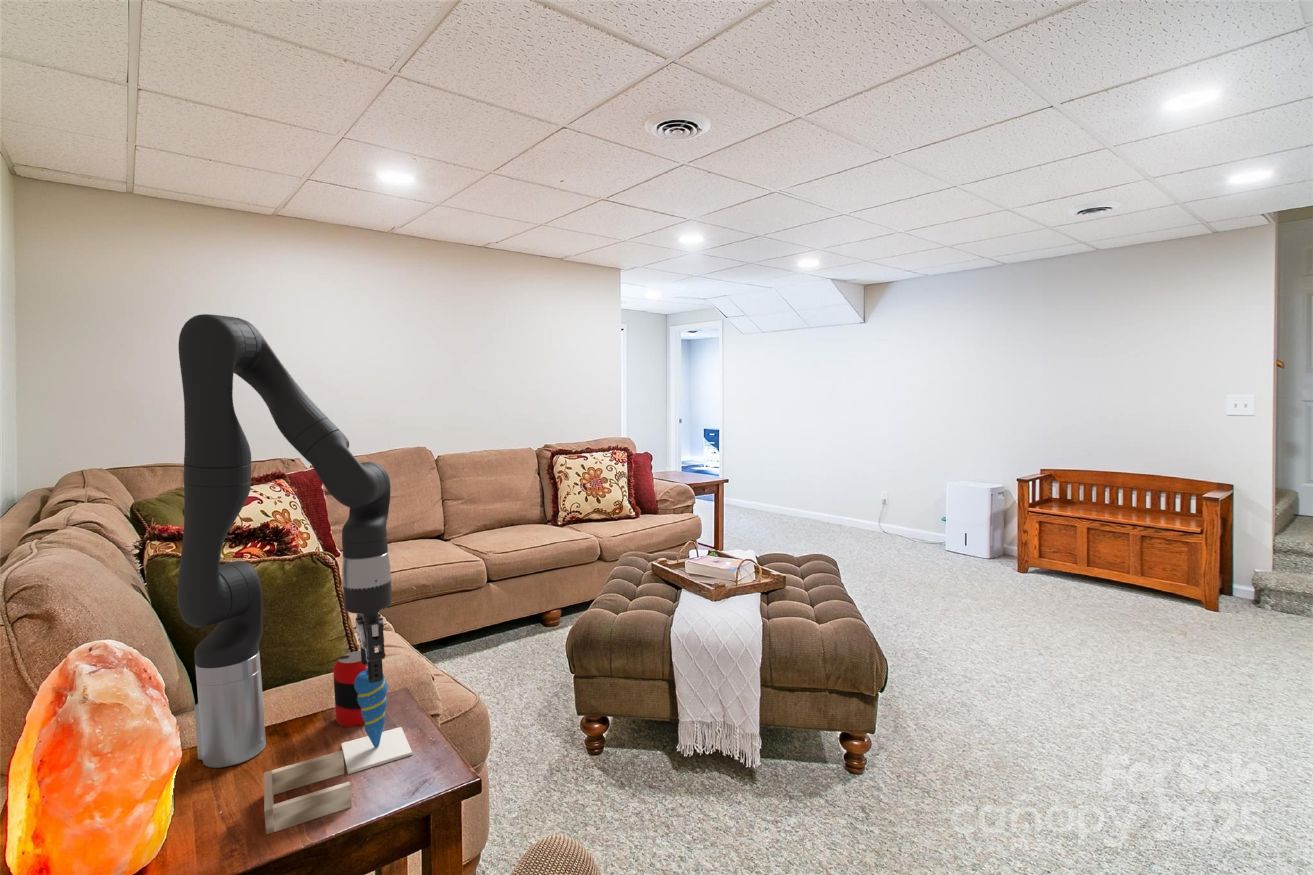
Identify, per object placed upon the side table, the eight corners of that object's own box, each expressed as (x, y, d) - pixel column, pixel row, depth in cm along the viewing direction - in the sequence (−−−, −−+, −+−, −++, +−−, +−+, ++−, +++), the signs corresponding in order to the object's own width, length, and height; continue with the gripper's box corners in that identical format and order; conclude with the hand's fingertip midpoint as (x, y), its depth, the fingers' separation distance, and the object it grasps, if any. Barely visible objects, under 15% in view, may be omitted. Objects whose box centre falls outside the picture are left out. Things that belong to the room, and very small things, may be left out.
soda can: (345, 709, 127) (341, 650, 126) (384, 706, 127) (381, 647, 126) (329, 729, 119) (325, 666, 118) (372, 726, 120) (368, 663, 119)
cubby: (266, 834, 91) (264, 811, 90) (265, 793, 100) (264, 772, 100) (351, 806, 96) (350, 784, 96) (343, 770, 106) (342, 750, 105)
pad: (348, 774, 105) (347, 771, 105) (341, 745, 113) (341, 743, 113) (412, 754, 110) (412, 752, 110) (401, 729, 118) (401, 726, 118)
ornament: (379, 756, 109) (372, 669, 108) (352, 754, 110) (345, 668, 109) (397, 739, 114) (391, 657, 113) (371, 738, 115) (365, 656, 114)
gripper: (398, 586, 105) (402, 682, 106) (383, 566, 117) (388, 652, 119) (347, 595, 101) (353, 694, 103) (338, 573, 113) (343, 662, 115)
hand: (371, 671), depth 111 cm, fingers open, 8 cm apart
